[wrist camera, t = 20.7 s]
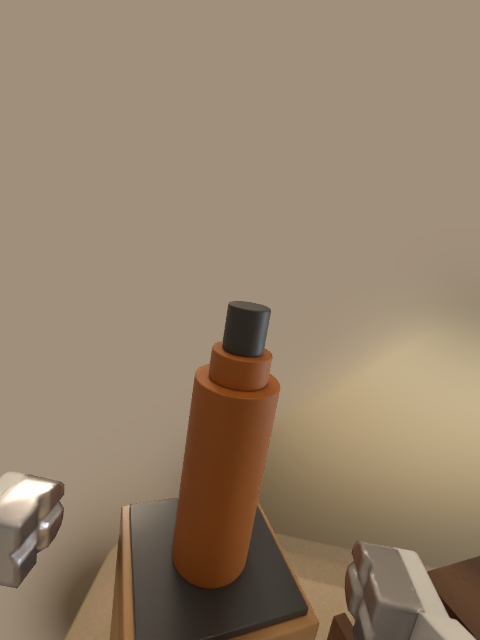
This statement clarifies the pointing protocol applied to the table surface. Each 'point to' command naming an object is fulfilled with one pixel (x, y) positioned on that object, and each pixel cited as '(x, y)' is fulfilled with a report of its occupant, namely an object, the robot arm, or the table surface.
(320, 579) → the table surface
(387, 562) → the robot arm
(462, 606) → the cabinet
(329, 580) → the table surface
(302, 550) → the table surface
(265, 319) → the lotion bottle
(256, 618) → the display stand
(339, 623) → the drawer
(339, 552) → the table surface
